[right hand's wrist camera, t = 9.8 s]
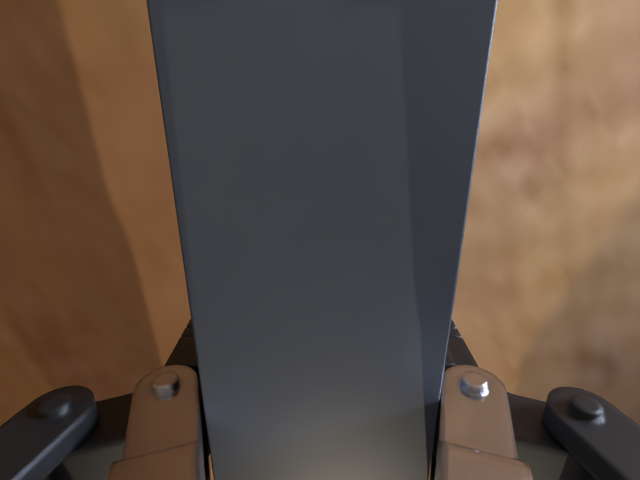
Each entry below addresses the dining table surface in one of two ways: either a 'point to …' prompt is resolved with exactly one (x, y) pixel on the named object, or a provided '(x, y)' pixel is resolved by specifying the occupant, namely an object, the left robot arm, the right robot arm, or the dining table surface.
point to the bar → (321, 220)
